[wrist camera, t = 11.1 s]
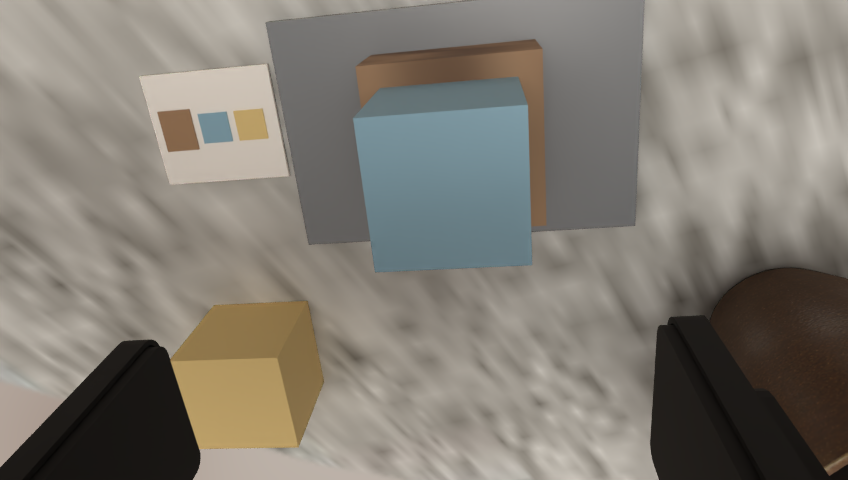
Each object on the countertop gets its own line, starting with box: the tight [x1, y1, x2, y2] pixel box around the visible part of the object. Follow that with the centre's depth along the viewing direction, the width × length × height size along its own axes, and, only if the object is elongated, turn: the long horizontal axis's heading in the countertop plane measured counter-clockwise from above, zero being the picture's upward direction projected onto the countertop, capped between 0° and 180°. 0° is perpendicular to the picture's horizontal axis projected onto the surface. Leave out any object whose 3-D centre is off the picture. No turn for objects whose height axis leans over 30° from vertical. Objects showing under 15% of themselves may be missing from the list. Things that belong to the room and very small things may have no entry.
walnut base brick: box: [355, 39, 547, 226], centre depth 29 cm, size 8×8×4 cm
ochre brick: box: [170, 301, 324, 449], centre depth 35 cm, size 6×6×6 cm
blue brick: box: [353, 77, 532, 272], centre depth 24 cm, size 6×6×6 cm
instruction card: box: [139, 64, 290, 185], centre depth 32 cm, size 7×6×1 cm
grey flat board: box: [266, 0, 645, 245], centre depth 31 cm, size 18×12×1 cm, turn 96°
